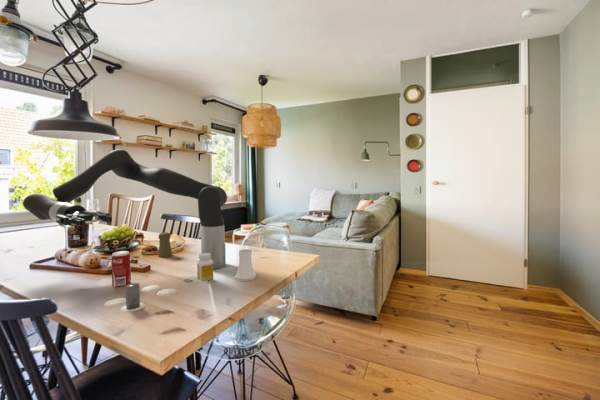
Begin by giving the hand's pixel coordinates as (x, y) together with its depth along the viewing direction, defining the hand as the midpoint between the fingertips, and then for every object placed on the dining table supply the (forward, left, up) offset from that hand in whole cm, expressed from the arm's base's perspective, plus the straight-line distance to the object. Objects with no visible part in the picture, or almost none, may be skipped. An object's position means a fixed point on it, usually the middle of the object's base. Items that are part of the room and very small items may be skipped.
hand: (97, 221), depth 94 cm
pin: (-14, +27, -20) cm, 37 cm away
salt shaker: (-48, +11, -22) cm, 53 cm away
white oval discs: (-16, +21, -22) cm, 34 cm away
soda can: (-8, +7, -22) cm, 24 cm away
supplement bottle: (-34, +10, -22) cm, 41 cm away
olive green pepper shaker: (-18, -32, -22) cm, 43 cm away
